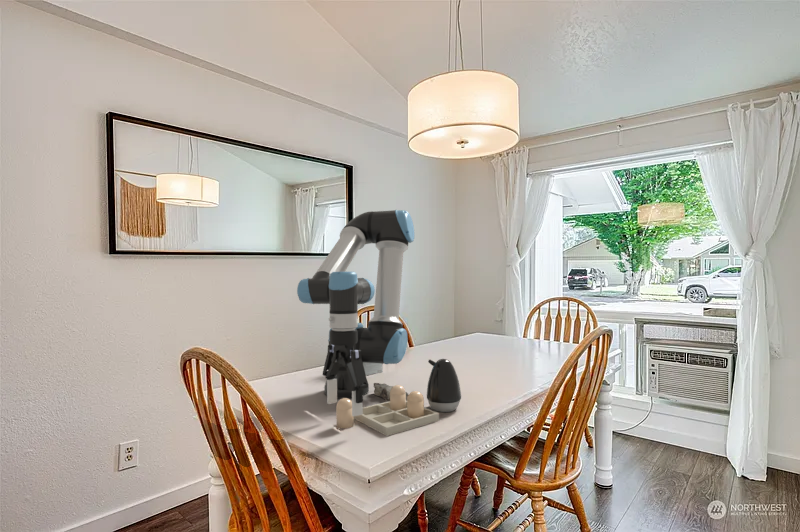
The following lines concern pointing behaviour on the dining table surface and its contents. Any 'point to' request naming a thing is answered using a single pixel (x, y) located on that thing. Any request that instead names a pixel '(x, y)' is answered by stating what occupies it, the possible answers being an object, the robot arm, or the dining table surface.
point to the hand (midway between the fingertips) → (344, 408)
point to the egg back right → (415, 405)
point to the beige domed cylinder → (397, 398)
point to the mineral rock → (384, 391)
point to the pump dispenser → (443, 387)
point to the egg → (344, 414)
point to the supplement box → (372, 368)
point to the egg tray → (393, 418)
